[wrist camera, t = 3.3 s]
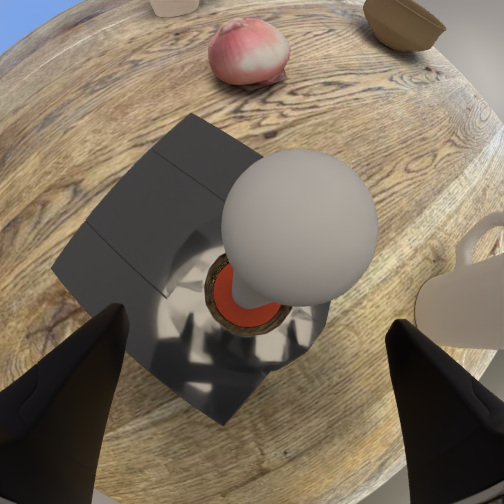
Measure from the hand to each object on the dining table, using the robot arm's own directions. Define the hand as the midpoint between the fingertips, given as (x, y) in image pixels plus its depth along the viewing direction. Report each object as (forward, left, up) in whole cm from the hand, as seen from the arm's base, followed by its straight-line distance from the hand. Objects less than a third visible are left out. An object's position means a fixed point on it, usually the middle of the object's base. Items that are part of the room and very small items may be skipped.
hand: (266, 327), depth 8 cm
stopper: (+2, +1, -10) cm, 11 cm away
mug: (+12, -13, -11) cm, 20 cm away
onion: (+19, +14, -11) cm, 26 cm away
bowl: (+46, +6, -11) cm, 47 cm away
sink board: (+2, +5, -10) cm, 12 cm away
